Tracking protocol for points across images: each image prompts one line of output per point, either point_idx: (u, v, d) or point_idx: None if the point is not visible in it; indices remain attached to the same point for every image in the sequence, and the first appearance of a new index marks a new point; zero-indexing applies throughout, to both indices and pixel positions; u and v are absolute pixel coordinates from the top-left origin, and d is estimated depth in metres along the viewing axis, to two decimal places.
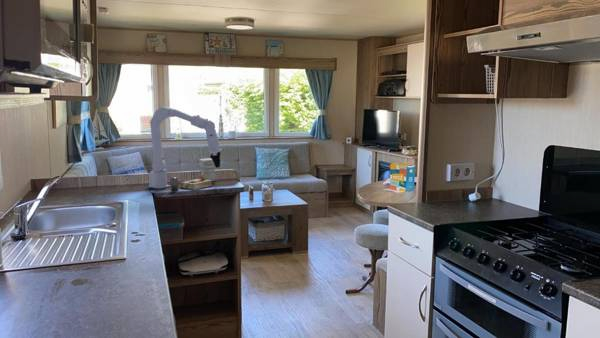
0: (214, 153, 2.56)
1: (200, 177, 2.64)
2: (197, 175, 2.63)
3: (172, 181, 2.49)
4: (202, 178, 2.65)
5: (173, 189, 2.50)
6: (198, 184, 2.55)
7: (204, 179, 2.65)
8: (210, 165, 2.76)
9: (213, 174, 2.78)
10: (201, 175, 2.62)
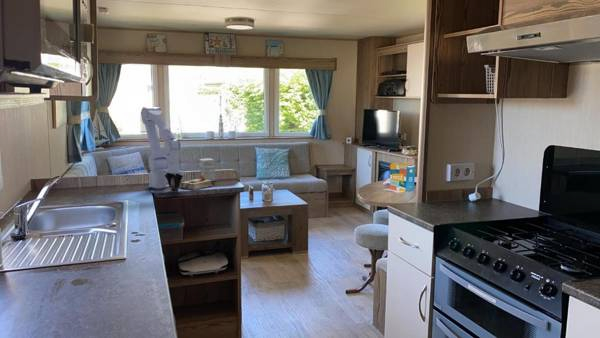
0: None
1: (200, 177, 2.64)
2: (197, 175, 2.63)
3: (172, 181, 2.49)
4: (202, 178, 2.65)
5: (173, 189, 2.50)
6: (198, 184, 2.55)
7: (204, 179, 2.65)
8: (210, 165, 2.76)
9: (213, 174, 2.78)
10: (201, 175, 2.62)
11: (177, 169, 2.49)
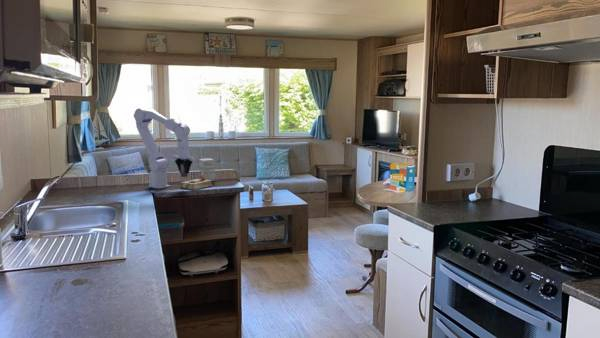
0: None
1: (200, 177, 2.64)
2: (197, 175, 2.63)
3: (182, 167, 2.52)
4: (202, 178, 2.65)
5: (183, 175, 2.53)
6: (198, 184, 2.55)
7: (204, 179, 2.65)
8: (210, 165, 2.76)
9: (213, 174, 2.78)
10: (201, 175, 2.62)
11: (187, 155, 2.51)
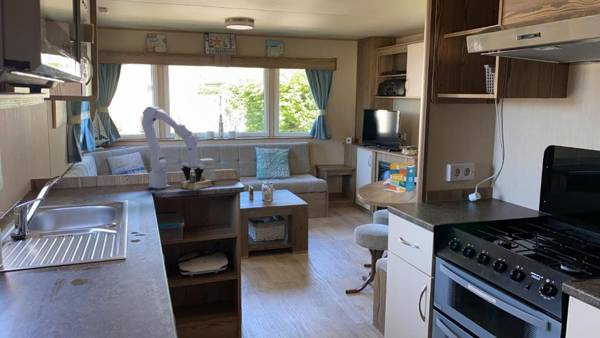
0: None
1: None
2: None
3: (191, 178, 2.57)
4: (202, 178, 2.65)
5: None
6: (198, 184, 2.55)
7: (204, 179, 2.65)
8: (210, 165, 2.76)
9: (213, 174, 2.78)
10: (201, 175, 2.62)
11: (196, 163, 2.56)
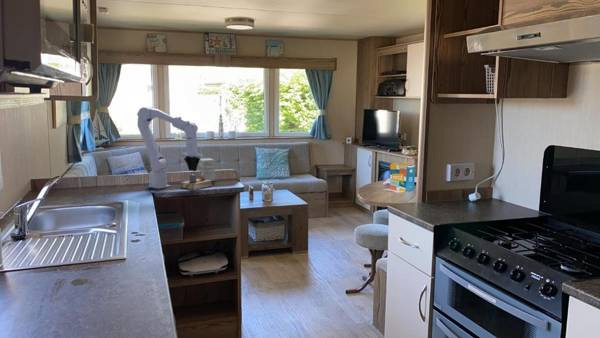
0: None
1: (200, 177, 2.64)
2: (197, 175, 2.63)
3: (191, 178, 2.57)
4: (202, 178, 2.65)
5: None
6: (198, 184, 2.55)
7: (204, 179, 2.65)
8: (210, 165, 2.76)
9: (213, 174, 2.78)
10: (201, 175, 2.62)
11: (195, 152, 2.55)
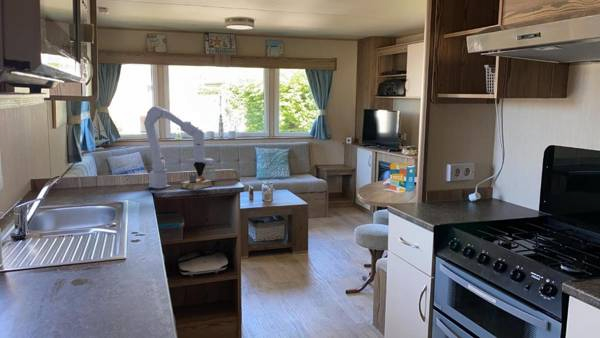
0: None
1: (200, 177, 2.64)
2: (197, 175, 2.63)
3: (191, 178, 2.57)
4: (202, 178, 2.64)
5: None
6: (198, 184, 2.55)
7: (204, 179, 2.65)
8: (210, 165, 2.76)
9: (213, 174, 2.78)
10: (201, 175, 2.62)
11: (203, 158, 2.61)
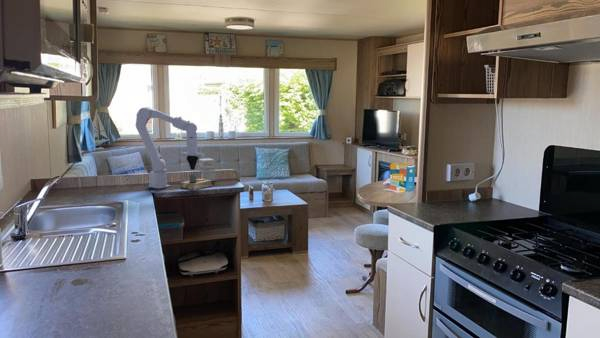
0: None
1: None
2: (196, 180, 2.63)
3: (191, 178, 2.57)
4: None
5: None
6: (198, 184, 2.55)
7: (204, 179, 2.65)
8: (210, 165, 2.76)
9: (213, 174, 2.78)
10: (200, 180, 2.62)
11: (196, 151, 2.60)
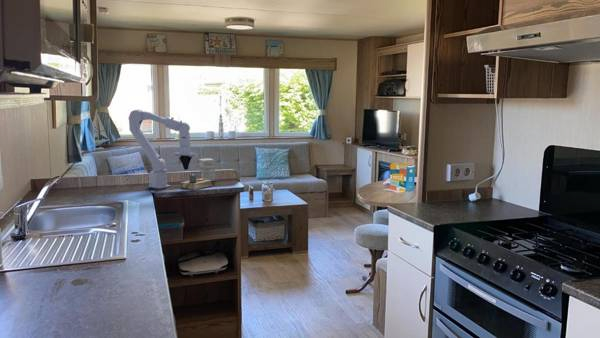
0: None
1: None
2: None
3: (191, 178, 2.57)
4: None
5: None
6: (198, 184, 2.55)
7: (204, 179, 2.65)
8: (210, 165, 2.76)
9: (213, 174, 2.78)
10: (200, 180, 2.62)
11: (189, 151, 2.59)
